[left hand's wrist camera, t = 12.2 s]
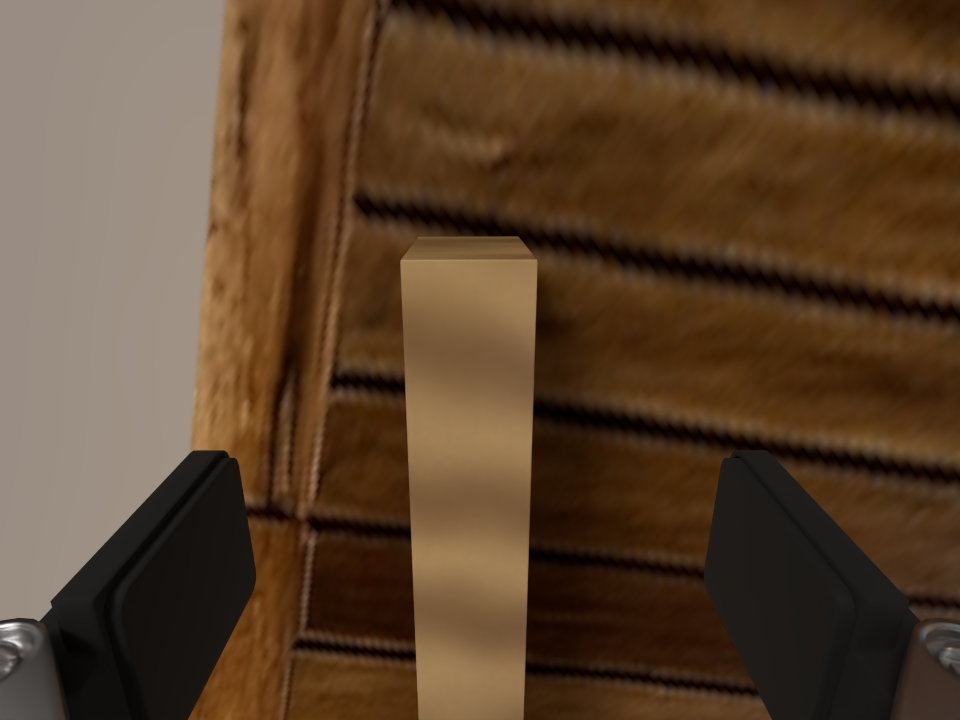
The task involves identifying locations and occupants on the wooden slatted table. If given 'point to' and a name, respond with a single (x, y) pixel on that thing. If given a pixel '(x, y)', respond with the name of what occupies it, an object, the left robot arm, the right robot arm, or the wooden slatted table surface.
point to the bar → (469, 468)
